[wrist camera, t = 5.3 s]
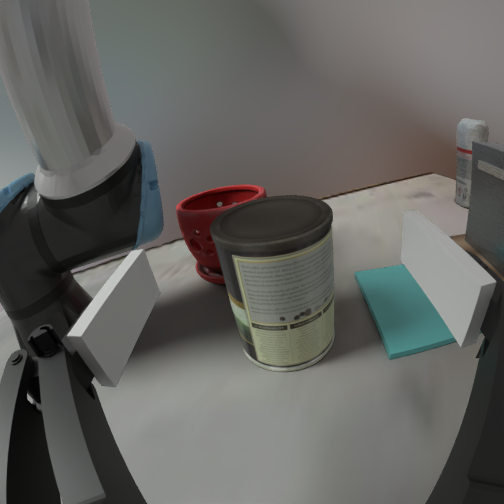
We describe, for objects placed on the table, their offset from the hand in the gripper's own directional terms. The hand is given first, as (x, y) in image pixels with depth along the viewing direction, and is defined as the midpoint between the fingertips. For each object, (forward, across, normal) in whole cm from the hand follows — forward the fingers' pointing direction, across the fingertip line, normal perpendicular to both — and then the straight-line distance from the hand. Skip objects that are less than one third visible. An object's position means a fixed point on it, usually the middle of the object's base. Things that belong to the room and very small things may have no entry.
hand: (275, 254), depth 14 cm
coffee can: (+11, 0, -16) cm, 19 cm away
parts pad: (+13, +17, -16) cm, 27 cm away
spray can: (+41, +46, -16) cm, 63 cm away
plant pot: (+27, -8, -16) cm, 33 cm away
